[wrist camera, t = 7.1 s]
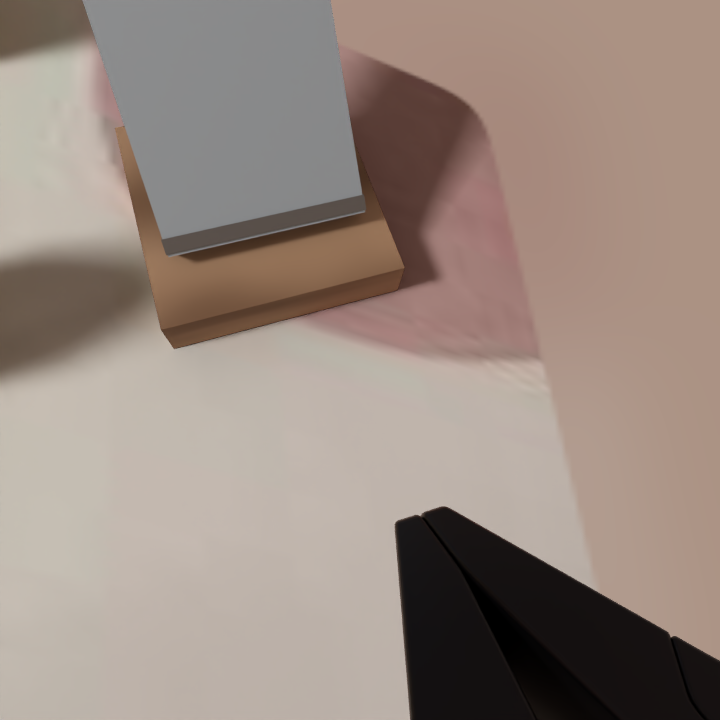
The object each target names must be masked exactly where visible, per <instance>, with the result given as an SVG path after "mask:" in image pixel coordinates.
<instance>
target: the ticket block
mask: <svg viewBox="0 0 720 720" xmlns="http://www.w3.org/2000/svg"><path fill="white" fill-rule="evenodd" d="M115 130H116V135H117V139H118V143H119V148H120V152H121V156H122V161H123V165H124V170H125V174H126V178H127V183H128V187H129V192H130V196H131V200H132V205H133V209H134V213H135V218H136V222H137V227H138V231H139V235H140V240H141V244H142V249H143V253H144V257H145V262H146V266H147V270H148V275H149V279H150V284H151V288H152V292H153V297H154V301H155V306H156V310H157V314H158V319H159V323H160V327H161V331H162V332H163V333H164V335H165V336H166V338H167V339H168V341H169V342H170V344H171V345H172V347H173V348H174V349H175V348H179V347H182V346H186V345H190V344H194V343H198V342H201V341H205V340H209V339H213V338H217V337H221V336H224V335H228V334H232V333H236V332H240V331H243V330H247V329H251V328H255V327H259V326H263V325H266V324H270V323H274V322H278V321H282V320H285V319H289V318H293V317H297V316H301V315H304V314H308V313H312V312H316V311H320V310H324V309H327V308H331V307H335V306H339V305H343V304H346V303H350V302H354V301H358V300H362V299H366V298H369V297H373V296H377V295H381V294H385V293H388V292H392V291H396V290H398V287H399V284H400V281H401V278H402V275H403V272H404V269H405V267H404V265H403V262H402V260H401V257H400V255H399V252H398V250H397V247H396V245H395V242H394V240H393V237H392V235H391V232H390V230H389V227H388V225H387V222H386V220H385V217H384V215H383V212H382V210H381V207H380V205H379V202H378V200H377V197H376V195H375V192H374V190H373V187H372V185H371V182H370V180H369V177H368V175H367V172H366V170H365V167H364V165H363V162H362V160H361V157H360V155H359V152H358V150H357V147H356V145H355V142H354V147H355V153H356V159H357V165H358V171H359V177H360V183H361V189H362V194H364V198H365V204H366V210H365V212H364V213H359V214H355V215H351V216H346V217H342V218H338V219H333V220H329V221H325V222H320V223H316V224H312V225H307V226H303V227H298V228H294V229H290V230H285V231H281V232H277V233H272V234H268V235H264V236H259V237H255V238H251V239H246V240H242V241H238V242H233V243H229V244H224V245H220V246H216V247H211V248H207V249H203V250H198V251H194V252H190V253H185V254H181V255H177V256H172V257H168V255H166V253H165V250H164V247H163V244H162V241H161V238H162V237H161V234H160V231H159V228H158V225H157V222H156V219H155V216H154V213H153V210H152V207H151V204H150V201H149V198H148V195H147V192H146V189H145V186H144V183H143V180H142V177H141V174H140V171H139V168H138V165H137V162H136V159H135V156H134V153H133V150H132V147H131V144H130V141H129V138H128V135H127V132H126V129H125V126H123V127H118V128H115Z"/></svg>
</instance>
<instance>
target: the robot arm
mask: <svg viewBox="0 0 720 720" xmlns="http://www.w3.org/2000/svg"><path fill="white" fill-rule="evenodd" d="M395 537H396V549H397V562H398V574H399V586H400V599H401V611H402V624H403V636H404V648H405V661H406V673H407V685H408V698H409V710H410V720H720V661H719V660H717V659H715V658H713V657H712V656H710V655H708V654H706V653H704V652H703V651H701V650H699V649H697V648H696V647H694V646H692V645H690V644H689V643H687V642H685V641H683V640H682V639H680V638H678V637H676V636H673V637H670V635H669V633H668V632H667V631H665V630H663V629H662V628H660V627H658V626H656V625H655V624H653V623H651V622H649V621H648V620H646V619H644V618H642V617H641V616H639V615H637V614H635V613H634V612H632V611H630V610H628V609H626V608H625V607H623V606H621V605H619V604H618V603H616V602H614V601H612V600H611V599H609V598H607V597H605V596H604V595H602V594H600V593H598V592H597V591H595V590H593V589H591V588H590V587H588V586H586V585H584V584H582V583H581V582H579V581H577V580H575V579H574V578H572V577H570V576H568V575H567V574H565V573H563V572H561V571H560V570H558V569H556V568H554V567H553V566H551V565H549V564H547V563H545V562H544V561H542V560H540V559H538V558H537V557H535V556H533V555H531V554H530V553H528V552H526V551H524V550H523V549H521V548H519V547H517V546H516V545H514V544H512V543H510V542H508V541H507V540H505V539H503V538H501V537H500V536H498V535H496V534H494V533H493V532H491V531H489V530H487V529H486V528H484V527H482V526H480V525H479V524H477V523H475V522H473V521H471V520H470V519H468V518H466V517H464V516H463V515H461V514H459V513H457V512H456V511H454V510H452V509H450V508H448V507H445V506H442V507H439V508H435V509H432V510H429V511H426V512H424V513H422V515H421V516H419V515H414V516H411V517H408V518H404V519H401V520H398V521H397V522H396V523H395Z"/></svg>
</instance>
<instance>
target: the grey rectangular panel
mask: <svg viewBox="0 0 720 720" xmlns="http://www.w3.org/2000/svg"><path fill="white" fill-rule="evenodd" d="M82 1H83V4H84V7H85V10H86V13H87V16H88V19H89V22H90V25H91V28H92V31H93V34H94V37H95V40H96V43H97V46H98V48H99V51H100V54H101V57H102V60H103V63H104V66H105V69H106V72H107V75H108V78H109V81H110V84H111V87H112V90H113V93H114V96H115V99H116V102H117V105H118V108H119V111H120V114H121V117H122V120H123V123H124V126H125V129H126V132H127V135H128V138H129V141H130V144H131V147H132V150H133V153H134V156H135V159H136V162H137V165H138V168H139V171H140V174H141V177H142V180H143V183H144V186H145V189H146V192H147V195H148V198H149V201H150V204H151V207H152V210H153V213H154V216H155V219H156V222H157V225H158V228H159V231H160V234H161V237H162V238H161V241H162V244H163V247H164V250H165V253H166V255H168V257H172V256H177V255H181V254H185V253H190V252H194V251H198V250H203V249H207V248H211V247H216V246H220V245H224V244H229V243H233V242H238V241H242V240H246V239H251V238H255V237H259V236H264V235H268V234H272V233H277V232H281V231H285V230H290V229H294V228H298V227H303V226H307V225H312V224H316V223H320V222H325V221H329V220H333V219H338V218H342V217H346V216H351V215H355V214H359V213H364V212H365V210H366V204H365V198H364V194H362V189H361V183H360V177H359V171H358V165H357V159H356V153H355V147H354V140H353V134H352V128H351V122H350V116H349V110H348V104H347V98H346V92H345V86H344V80H343V74H342V67H341V61H340V55H339V49H338V43H337V37H336V31H335V25H334V19H333V13H332V7H331V0H82Z"/></svg>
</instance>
